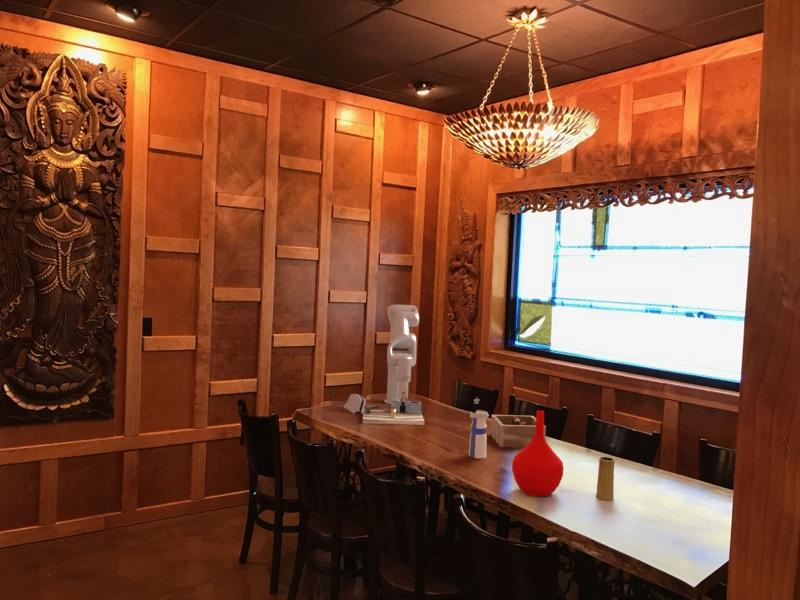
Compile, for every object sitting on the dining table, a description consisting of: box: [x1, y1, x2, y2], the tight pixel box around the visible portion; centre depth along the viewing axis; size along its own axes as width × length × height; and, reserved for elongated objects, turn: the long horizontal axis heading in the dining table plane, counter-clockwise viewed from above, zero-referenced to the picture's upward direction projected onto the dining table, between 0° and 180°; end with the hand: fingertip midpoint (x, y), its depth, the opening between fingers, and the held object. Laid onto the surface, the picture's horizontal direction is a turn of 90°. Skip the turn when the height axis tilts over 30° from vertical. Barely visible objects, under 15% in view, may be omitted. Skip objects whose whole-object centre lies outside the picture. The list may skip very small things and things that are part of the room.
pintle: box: [390, 408, 396, 418], centre depth 326 cm, size 2×2×6 cm
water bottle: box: [468, 397, 490, 459], centre depth 268 cm, size 8×9×25 cm
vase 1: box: [511, 410, 564, 498], centre depth 225 cm, size 18×18×30 cm
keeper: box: [364, 404, 380, 414], centre depth 336 cm, size 4×9×5 cm, turn 138°
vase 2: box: [595, 456, 615, 501], centre depth 222 cm, size 6×6×14 cm
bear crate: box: [489, 414, 547, 449], centre depth 295 cm, size 22×21×10 cm
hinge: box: [343, 393, 367, 414], centre depth 349 cm, size 17×5×10 cm, turn 27°
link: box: [382, 400, 423, 415], centre depth 337 cm, size 20×7×6 cm, turn 93°
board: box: [362, 409, 425, 426], centre depth 331 cm, size 23×32×2 cm
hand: (402, 411), depth 337 cm, fingers closed on link, 4 cm apart
